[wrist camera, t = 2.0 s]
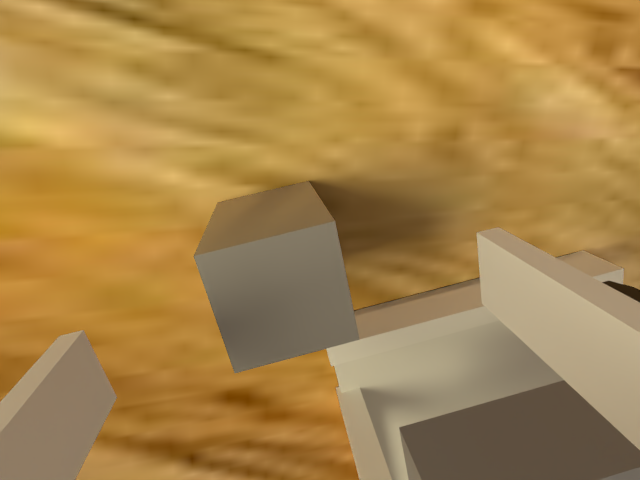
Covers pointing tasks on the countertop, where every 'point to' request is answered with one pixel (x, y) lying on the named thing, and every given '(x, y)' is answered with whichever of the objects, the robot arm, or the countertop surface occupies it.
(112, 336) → the countertop surface
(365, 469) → the frame
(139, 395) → the countertop surface
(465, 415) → the trapdoor
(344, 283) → the gray rectangular block
